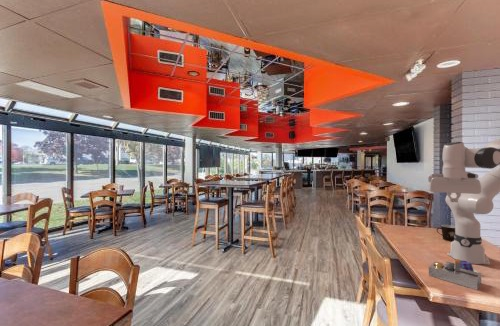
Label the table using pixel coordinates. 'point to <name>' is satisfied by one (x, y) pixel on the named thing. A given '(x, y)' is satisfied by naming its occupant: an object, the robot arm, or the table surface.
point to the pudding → (467, 266)
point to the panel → (456, 276)
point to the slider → (457, 265)
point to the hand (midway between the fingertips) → (453, 201)
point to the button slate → (450, 266)
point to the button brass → (438, 264)
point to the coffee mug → (447, 232)
